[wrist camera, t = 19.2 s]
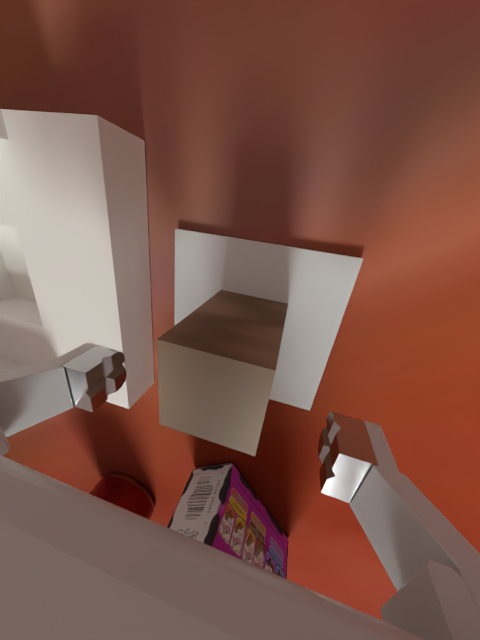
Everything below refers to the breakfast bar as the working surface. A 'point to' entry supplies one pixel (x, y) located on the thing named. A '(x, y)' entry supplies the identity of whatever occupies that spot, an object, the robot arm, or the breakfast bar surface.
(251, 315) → the walnut block
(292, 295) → the grey mat
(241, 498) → the candy bar box
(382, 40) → the breakfast bar surface
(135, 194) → the board
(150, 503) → the soda can
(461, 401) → the breakfast bar surface
